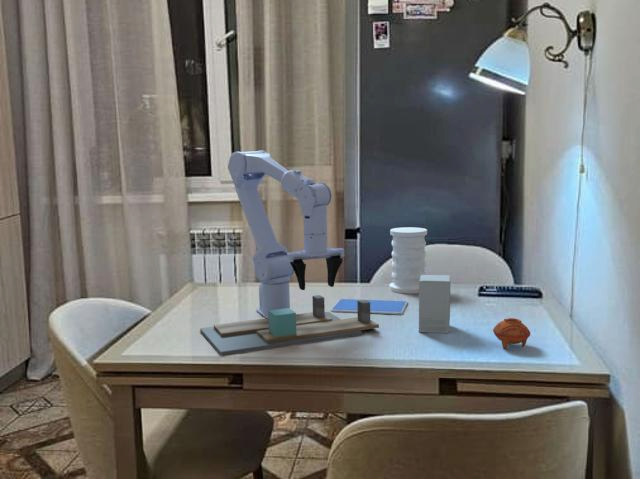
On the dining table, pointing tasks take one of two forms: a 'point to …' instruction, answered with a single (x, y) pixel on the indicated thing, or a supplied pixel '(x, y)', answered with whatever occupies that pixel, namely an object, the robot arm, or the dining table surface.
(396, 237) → the decorative container
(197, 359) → the dining table surface
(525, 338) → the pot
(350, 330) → the strip
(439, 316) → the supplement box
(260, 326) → the strip
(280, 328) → the teal block
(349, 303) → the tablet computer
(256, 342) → the lane board
